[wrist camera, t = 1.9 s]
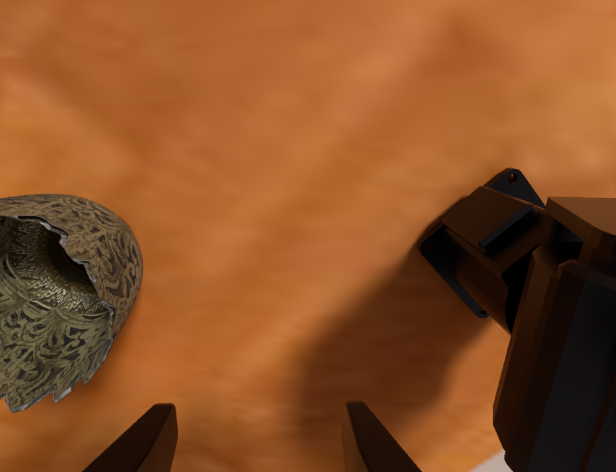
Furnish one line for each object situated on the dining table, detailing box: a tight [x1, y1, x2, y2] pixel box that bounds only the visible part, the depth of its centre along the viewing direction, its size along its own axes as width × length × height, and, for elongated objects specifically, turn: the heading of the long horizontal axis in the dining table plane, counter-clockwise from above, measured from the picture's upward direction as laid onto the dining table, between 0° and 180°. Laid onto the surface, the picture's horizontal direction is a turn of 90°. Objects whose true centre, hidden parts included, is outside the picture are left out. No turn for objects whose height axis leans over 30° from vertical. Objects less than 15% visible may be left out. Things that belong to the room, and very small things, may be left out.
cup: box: [0, 194, 143, 413], centre depth 15 cm, size 8×7×8 cm
